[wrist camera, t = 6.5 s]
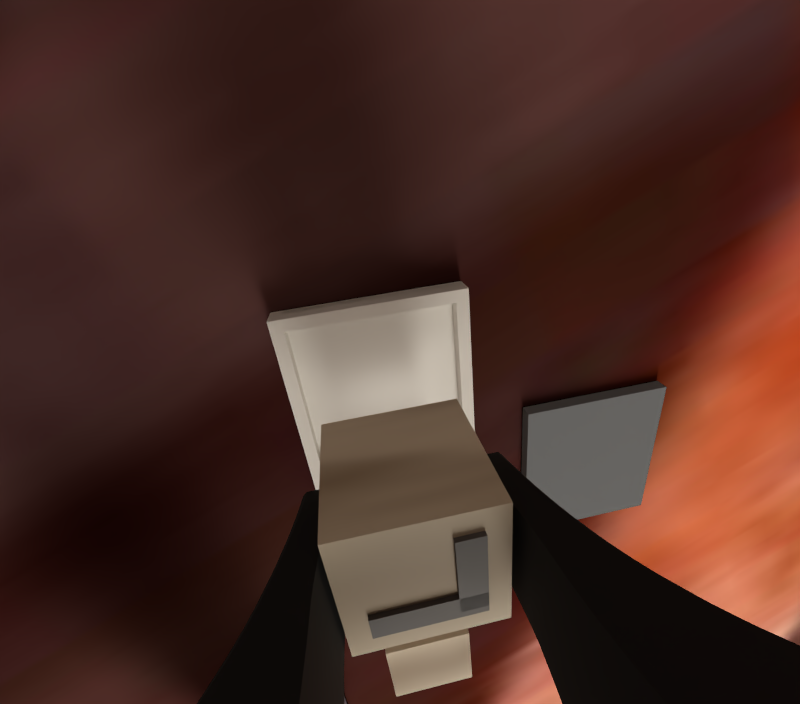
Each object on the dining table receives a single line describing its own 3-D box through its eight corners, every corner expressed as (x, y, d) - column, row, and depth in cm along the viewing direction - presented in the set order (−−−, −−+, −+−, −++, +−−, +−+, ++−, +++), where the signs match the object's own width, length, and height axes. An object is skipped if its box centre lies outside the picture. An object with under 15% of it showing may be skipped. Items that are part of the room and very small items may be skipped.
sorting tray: (477, 604, 25) (482, 620, 24) (361, 632, 25) (362, 650, 24) (460, 280, 16) (468, 288, 15) (270, 312, 15) (266, 322, 14)
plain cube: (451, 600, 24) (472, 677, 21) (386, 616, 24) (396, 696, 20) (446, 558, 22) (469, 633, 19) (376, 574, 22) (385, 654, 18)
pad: (633, 496, 23) (640, 504, 23) (520, 522, 23) (524, 531, 22) (657, 380, 20) (666, 386, 19) (522, 407, 19) (528, 414, 18)
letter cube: (466, 496, 13) (518, 621, 10) (346, 522, 13) (352, 662, 9) (461, 397, 12) (521, 505, 8) (321, 424, 11) (317, 551, 8)
